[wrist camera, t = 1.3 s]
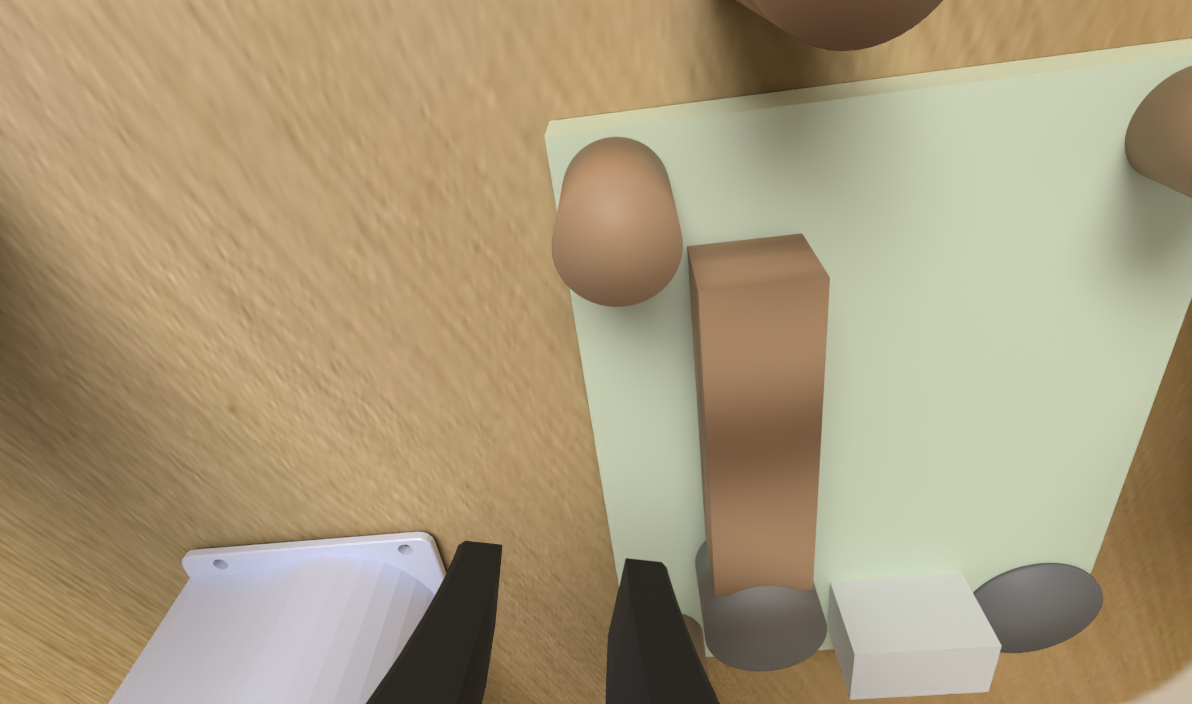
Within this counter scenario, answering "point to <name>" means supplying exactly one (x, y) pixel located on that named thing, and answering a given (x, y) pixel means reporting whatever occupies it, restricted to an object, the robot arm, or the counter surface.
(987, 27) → the counter surface
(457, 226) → the counter surface
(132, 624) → the counter surface
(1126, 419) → the board
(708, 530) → the hinged leg
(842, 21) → the leg peg
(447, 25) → the counter surface
